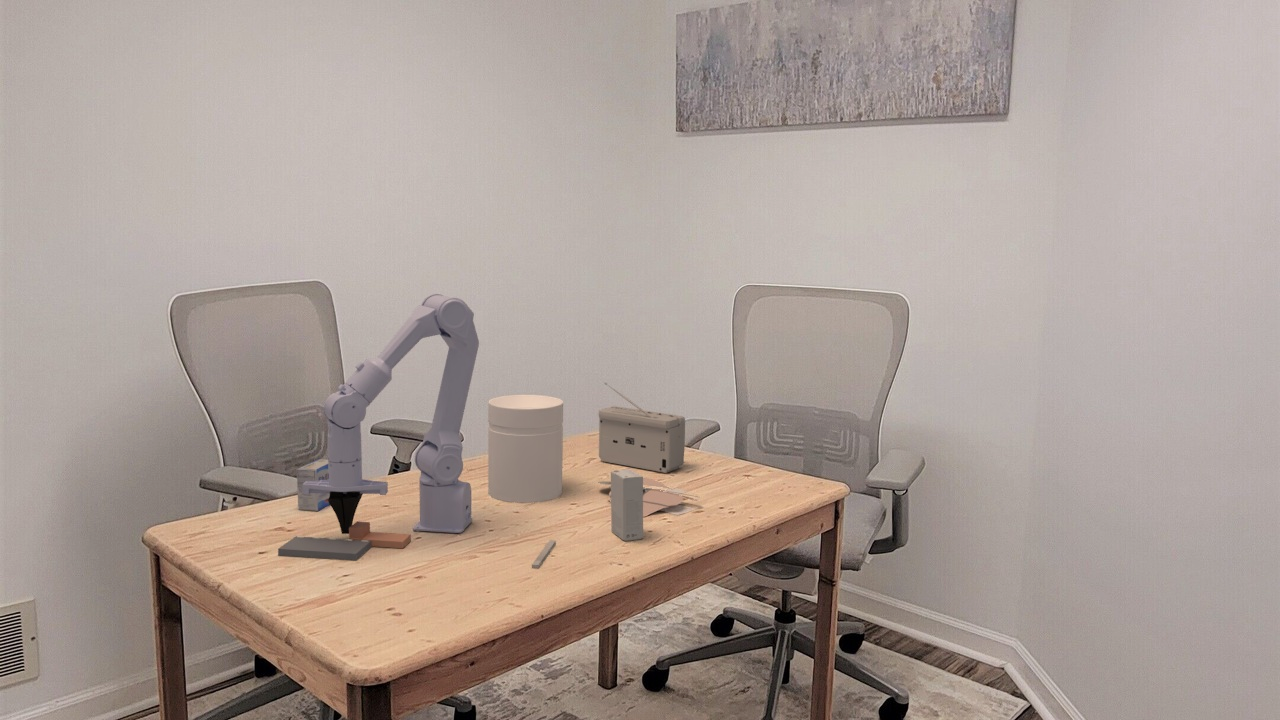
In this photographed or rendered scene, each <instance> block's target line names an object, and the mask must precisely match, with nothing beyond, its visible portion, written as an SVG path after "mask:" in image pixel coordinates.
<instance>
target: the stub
mask: <svg viewBox="0 0 1280 720" xmlns="http://www.w3.org/2000/svg"><path fill="white" fill-rule="evenodd" d="M348 539H351V540H366V541H371V547H375V548H376V547H377V548H390V549H391V548H392V549H393V548H394V549H404V548H405V547H406V546H407V545H408V544H409V543H410V542H411V540H412V534H410V533H395V532H377V531H371V523H370V522H369V521H356V522H355V523H352V526H351V527H349V534H348Z"/></svg>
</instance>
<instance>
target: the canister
mask: <svg viewBox="0 0 1280 720" xmlns="http://www.w3.org/2000/svg"><path fill="white" fill-rule="evenodd" d="M487 411H488V412H487V413H488V421H487V422H488V430H487V431H488V435H487V436H488V441H487V442H488V443H487V444H488V445H487V446H488V447H487V448H488V450H487V451H488V452H487V453H488V454H487V455H488V457H487V458H488V461H487V463H488V465H487V466H488V468H487V471H488V473H487V474H488V477H487V478H488V479H487V480H488V482H487V483H488V486H487V487H488V491H487V493H488V494H487V495H489V496H490V498H492V499H495V500H496V501H497V500H498V501H501V502H507V503H514V502H515V503H516V504H532V503H533V502H534V503H541V502H542V503H543V502H547V501H551V500H554V499H556V498H559V497H560V496H561V495H562V494H563V460H564V459H563V451H564V449H563V448H564V445H563V444H564V443H563V442H564V426H563V423H564V400H563V399H561V398H559V397H555V396H550V395H542V394H541V395H540V394H509V395H500V396H497V397H493V398H491V399H489V400H488V408H487ZM534 503H533V504H534Z"/></svg>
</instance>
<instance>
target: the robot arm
mask: <svg viewBox="0 0 1280 720" xmlns="http://www.w3.org/2000/svg"><path fill="white" fill-rule="evenodd" d="M474 317H475V313H474V312H473V311H472V309H471V307H469V306H468V304H467V303H466V302H465V301H464V300H463V299H462V298H458V297H450V296H445V295H443V294H439V293H433V294H430V295H428V296H427V297H426V298H424V299H423V301H422V302H421V304H419V305H418V306H417V307H415V308H414V309H413V311H412V313H411V314H410V316H409V317H408V318H407V319H406V321H405V322H404V323H403V325H402V326H401V328H399V330H398V331H397V332H396V334H395V335H393V337H392V338H391V339H390V341H389V342H388V343H387V345H386V346H385V347H384V348H383V350H382V351H381V352H380V354H378V356H376V357H373V358H366V360H365V361H363V362H362V361H359V362H358V363H357V364H356V365H355V368H356V371H354V373H353V374H352V375H351V376H350V377H349V378H348V379H347V380H346V382H345V383H344V384H342V383H341V384H339V386H338V387H337V390H338V391H336V392H333V393H331V394H330V395H328V396H327V398H326V399H325V402H324V405H323V406H322V410H321V411H322V414H323V415H324V417H325V418H326V419H327V460H328V472H329V480H320V481H306V482H305V483H304V484H303V494H310V493H330V496H329V498H328V501H329V504H330V505H329V506H331V509H332V510H333V513H334V514H335V516H336V519H337V520H338V524H339V528H340V532H341V535H349V527H351V526H352V525H353V524H354V523H353V522H354V518H355V513H356V511H357V508H358V506H359V503H360V501H361V499H362V497H363V495H365V494H366V495H371V494H373V495H374V494H375V495H380V496H386V495H387V494H388V492H389V490H388V489H389V488H388V487H389V486H388V485H389V484H388V481H378V480H370V479H363V467H362V465H363V462H362V460H363V459H362V458H363V456H362V431H361V422H363V421H364V420H365V418H366V414H367V408H368V407H369V406H370V405H371V404H372V403H373V402H374V400H376V398H377V397H378V396H379V394H380V393H381V392H382V391H383V390H384V389H385V388H386V387H387V386H388V384H389V383H390V382H391V381H392V373H393V372H392V371H393V369H394V368H395V367H396V366H397V365H398V364H399V362H400V361H402V360H403V358H405V356H406V355H407V354H408V353H409V352H410V351H411V350H412V349H413V348H415V346H416V345H417V344H419V342H420V341H421V340H422V339H424V338H430V337H434V336H439V335H440V337H441V339H443V341H444V342H445V343H446V345H447V347H448V349H447V350H448V352H447V355H446V360H445V365H444V369H443V372H442V379H441V383H440V387H439V392H438V396H437V400H436V406H435V409H434V414H433V419H432V423H431V427H430V429H428V431H426V433H424V436H423V439H422V440H423V441H422V442H421V444H420V446H419V447H418V449H417V450H416V452H415V455H414V462H415V463H414V464H415V466H416V467H417V469H418V470H419V471H420V476H419V481H418V482H419V521H418V522H417V523H416V524H415V525H413V527H412V531H420V532H421V531H422V532H435V533H436V532H437V533H452V534H461V533H463V531H464V530H465V529H466V528H467V527H468V526H469V525H470V524H471V523H472V521H473V517H472V487H471V483H470V482H467V481H462V480H459V478H460V477H461V475H462V473H463V469H464V462H463V458H462V453H463V448H464V447H463V443H462V440H461V436H460V430H461V426H462V422H463V417H464V413H465V409H466V405H467V399H468V395H469V390H470V386H471V383H472V382H471V381H472V378H473V373H474V368H475V364H476V360H477V355H478V350H479V345H480V342H479V338H478V333H477V330H476V326H475V322H474Z"/></svg>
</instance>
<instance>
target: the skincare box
mask: <svg viewBox="0 0 1280 720" xmlns="http://www.w3.org/2000/svg"><path fill="white" fill-rule="evenodd" d="M643 478H644V476H643V475H640V474H639V473H637V472H635V471H634V470H632V469H630V468H627V469H626V468H625V469H618V470H611V471H610V482H611V485H610V487H611V488H610V491H611V502H610V507H611V508H610V513H611V515H610V516H611V517H610V519H611V532H612V533H613V534H614V535H616V537H619V538H620V539H621V540H623V541H625V542H628V541H637V540H643V538H644V517H643Z"/></svg>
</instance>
